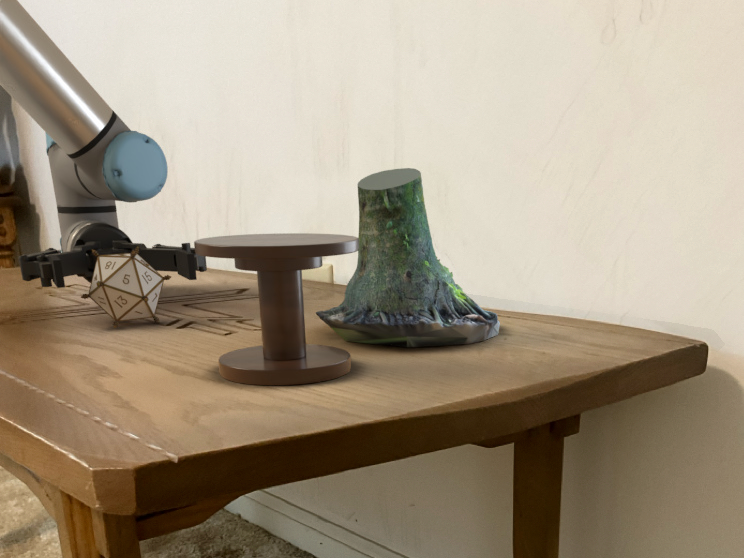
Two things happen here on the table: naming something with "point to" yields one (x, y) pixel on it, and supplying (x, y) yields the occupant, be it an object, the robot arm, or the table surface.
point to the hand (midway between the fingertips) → (127, 270)
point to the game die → (125, 286)
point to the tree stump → (403, 275)
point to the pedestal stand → (281, 307)
